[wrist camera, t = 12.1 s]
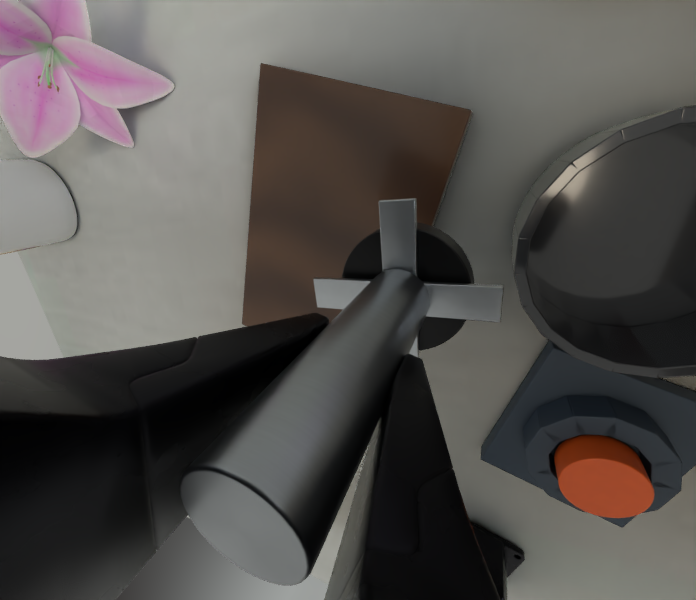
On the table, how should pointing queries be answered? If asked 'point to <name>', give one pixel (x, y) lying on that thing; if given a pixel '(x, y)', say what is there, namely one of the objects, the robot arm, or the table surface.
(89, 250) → the table surface
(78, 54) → the lily
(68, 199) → the milk bottle
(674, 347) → the dark fan housing
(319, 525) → the blade
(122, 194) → the table surface
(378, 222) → the cutting board
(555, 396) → the button block
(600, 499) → the button
